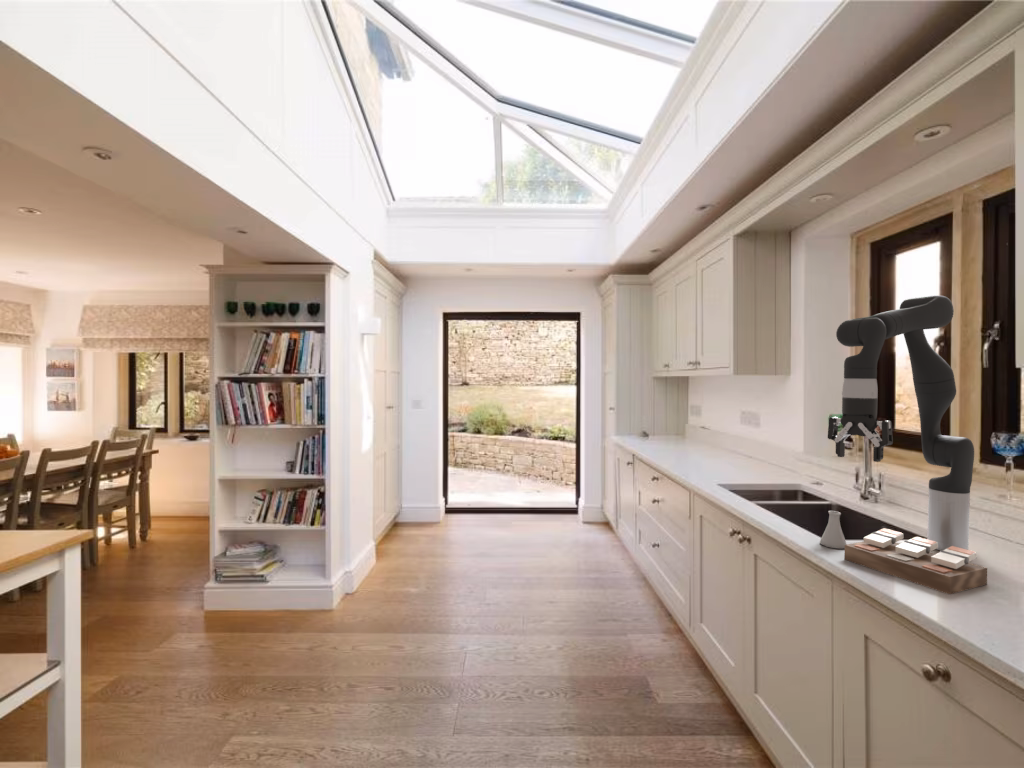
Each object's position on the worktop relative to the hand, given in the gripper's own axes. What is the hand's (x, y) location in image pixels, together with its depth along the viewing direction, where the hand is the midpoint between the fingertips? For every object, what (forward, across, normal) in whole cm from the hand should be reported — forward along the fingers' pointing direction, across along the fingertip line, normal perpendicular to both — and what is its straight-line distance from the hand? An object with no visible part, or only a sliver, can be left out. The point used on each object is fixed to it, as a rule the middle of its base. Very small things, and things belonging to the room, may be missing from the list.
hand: (858, 459), depth 130 cm
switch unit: (+29, -7, -12) cm, 32 cm away
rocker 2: (+23, -8, -14) cm, 28 cm away
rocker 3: (+23, -16, -13) cm, 30 cm away
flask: (+29, +13, -15) cm, 35 cm away
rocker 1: (+23, 0, -14) cm, 27 cm away
